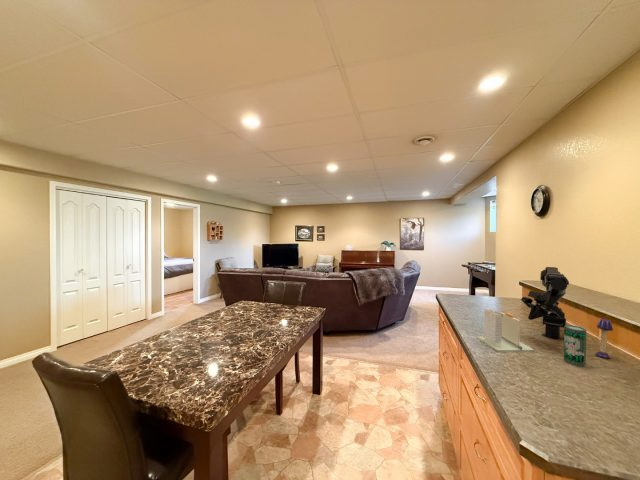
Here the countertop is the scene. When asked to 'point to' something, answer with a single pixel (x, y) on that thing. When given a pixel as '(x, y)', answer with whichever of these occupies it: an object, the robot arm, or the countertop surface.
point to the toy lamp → (604, 337)
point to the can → (575, 345)
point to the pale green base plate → (507, 346)
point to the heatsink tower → (493, 327)
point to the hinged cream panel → (510, 329)
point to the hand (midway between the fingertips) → (529, 319)
